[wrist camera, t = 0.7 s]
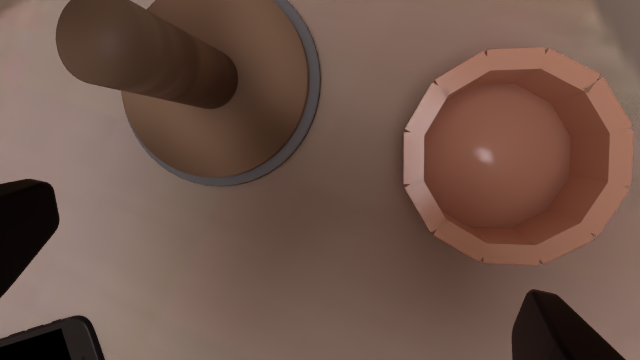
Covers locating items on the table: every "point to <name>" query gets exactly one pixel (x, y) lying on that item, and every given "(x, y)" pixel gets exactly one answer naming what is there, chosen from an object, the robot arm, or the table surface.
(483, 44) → the table surface
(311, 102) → the mat
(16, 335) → the smartphone
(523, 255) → the bowl
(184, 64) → the post with round base
